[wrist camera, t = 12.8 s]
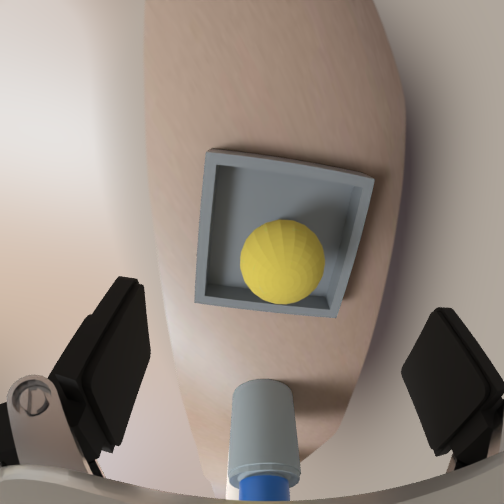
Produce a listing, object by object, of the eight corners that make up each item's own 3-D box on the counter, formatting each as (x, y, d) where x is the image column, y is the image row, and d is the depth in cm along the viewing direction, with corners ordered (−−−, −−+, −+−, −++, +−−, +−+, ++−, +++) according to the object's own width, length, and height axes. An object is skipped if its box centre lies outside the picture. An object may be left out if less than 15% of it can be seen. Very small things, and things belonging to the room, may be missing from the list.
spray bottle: (250, 371, 39) (246, 549, 16) (304, 389, 41) (325, 549, 18) (223, 404, 42) (210, 555, 20) (273, 419, 44) (278, 559, 21)
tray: (211, 148, 28) (205, 151, 24) (362, 172, 28) (374, 179, 25) (199, 285, 34) (194, 302, 31) (329, 300, 34) (336, 318, 31)
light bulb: (230, 243, 31) (220, 297, 21) (265, 186, 28) (270, 218, 19) (287, 274, 32) (298, 334, 23) (323, 221, 30) (352, 266, 20)
